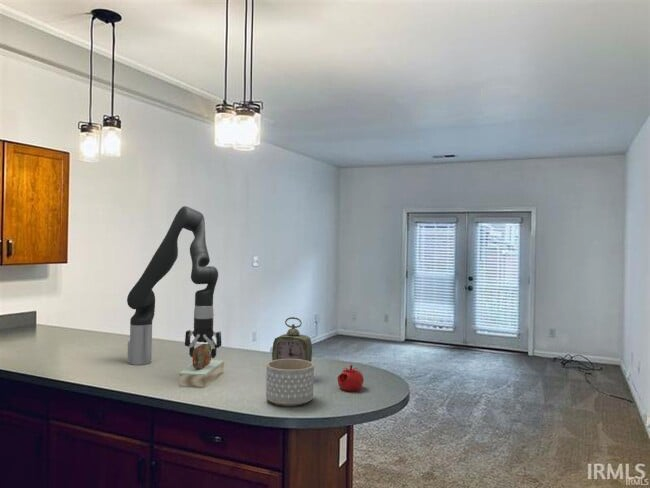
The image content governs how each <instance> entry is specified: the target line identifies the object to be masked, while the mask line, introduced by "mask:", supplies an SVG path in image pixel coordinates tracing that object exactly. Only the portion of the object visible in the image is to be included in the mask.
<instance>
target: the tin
mask: <svg viewBox="0 0 650 488" xmlns="http://www.w3.org/2000/svg"><path fill="white" fill-rule="evenodd" d="M211 355H212V347H211V346H210V345H209V344H208V343H202V344H200V345H198V346H197V347H195V349H194V351H193V355H192V357H191V358H192V365H193V367H194V368H195V369H203V368H204V367H205V366H207V365H208V364H209V363H210V361H211V360H212V358H211Z"/></svg>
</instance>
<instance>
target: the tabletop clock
mask: <svg viewBox="0 0 650 488" xmlns="http://www.w3.org/2000/svg"><path fill="white" fill-rule="evenodd" d="M289 320H297V321H299V323H300V324H299V325H295V324H294V323H293V324H291V325H290V324H287V321H289ZM284 324H285V325H286V326H287V327H288V328H289V329H288V330H287V332H286V333H284V334H281V335H279V336H277V337H276V338H274V340H273V342H272V343H273V344H272V353H271V357H272V358H271V359H272V360H271V361H273V360H279V359H301V360H306V361H310V362H312V360H313V359H312V358H313V347H312V346H313V344H312V340H311V339H312V338H311V337H310V336H308V335H304V334H300V331H299V330H298V329H297V328H300V327H301V326H302V324H303V323H302V320H301V318H298V317H293V316H292V317H290V316H289V317H288V318H286V319H285V321H284Z"/></svg>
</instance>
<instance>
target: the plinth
mask: <svg viewBox="0 0 650 488" xmlns="http://www.w3.org/2000/svg"><path fill="white" fill-rule="evenodd" d="M224 364H225V362H224V360H217V359H216V360H215V359H214V360H213V359H211V361H210V363H209V364H208V365H207V366H205V367H204V368H203V369H195V368H194V367H193V364H192V365H190V366H188V367H185V369H183V370H182V371H180V372H179V377H178V378H179V380H178V381H179V382H178V386H179V387H185V388H186V387H191V388H206V387H207V386H208V385H209V386H210V384H211V383H213V382H214V381H215V380H216V379H218V378H220V376H221V375H223V373H224Z"/></svg>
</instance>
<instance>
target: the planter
mask: <svg viewBox="0 0 650 488" xmlns="http://www.w3.org/2000/svg"><path fill="white" fill-rule="evenodd" d="M314 370H315V364H314V363H313V362H312V361H311V362H310V361H306V360H301V359H279V360H273V361H272V360H271V361H268V362H267V363H266V375H265V376H266V379H265V380H266V385H265V387H266V388H265V398H266V400H267V401H269V402H271V403H272V404H273V403H274V404H273V405H276V404H277V405H276V406H279V405H283V406H282V407H297V406H296V405H300V406H303V405H302V404H304V405H306V404H308V402H310V401H312V400H313V399H314V378H315V377H314V375H315V372H314ZM305 403H306V404H305Z"/></svg>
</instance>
